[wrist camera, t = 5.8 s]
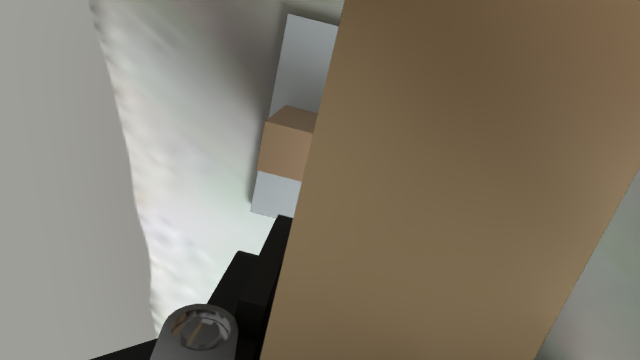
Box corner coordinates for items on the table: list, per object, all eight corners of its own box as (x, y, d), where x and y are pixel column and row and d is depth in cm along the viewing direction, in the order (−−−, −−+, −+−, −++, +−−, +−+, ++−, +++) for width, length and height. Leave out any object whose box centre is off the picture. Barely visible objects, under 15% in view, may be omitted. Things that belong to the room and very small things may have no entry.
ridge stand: (470, 59, 25) (509, 64, 19) (404, 245, 30) (417, 302, 23) (290, 14, 25) (266, 3, 19) (253, 206, 30) (223, 251, 24)
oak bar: (394, -149, 8) (445, -423, 3) (582, -102, 8) (902, -311, 3) (238, 482, 15) (182, 686, 10) (340, 509, 15) (332, 726, 10)
